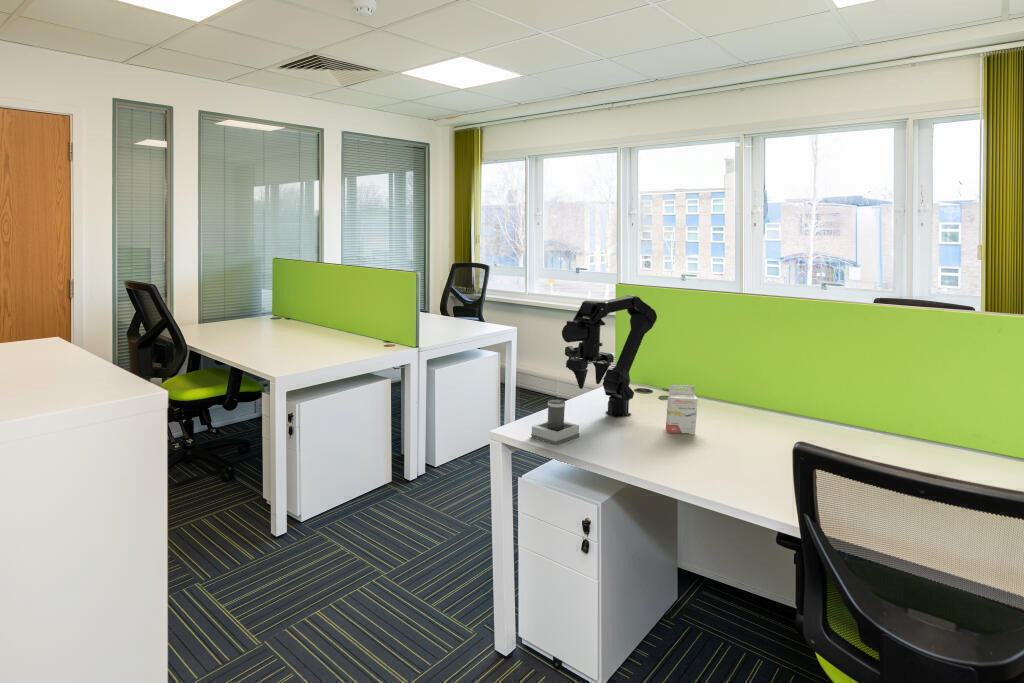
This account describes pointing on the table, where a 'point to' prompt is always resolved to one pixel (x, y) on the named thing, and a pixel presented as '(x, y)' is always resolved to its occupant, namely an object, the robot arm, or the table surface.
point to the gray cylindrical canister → (556, 415)
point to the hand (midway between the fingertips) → (589, 386)
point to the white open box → (555, 433)
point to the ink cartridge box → (681, 409)
